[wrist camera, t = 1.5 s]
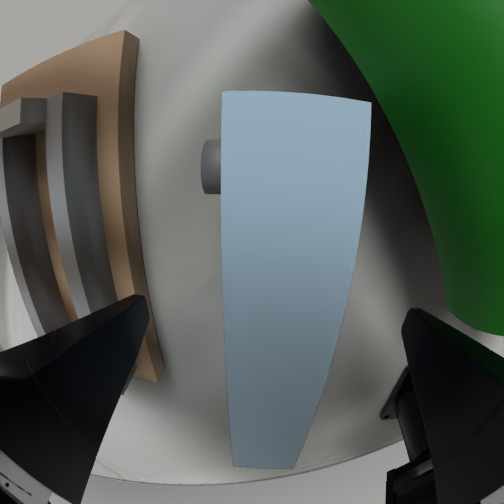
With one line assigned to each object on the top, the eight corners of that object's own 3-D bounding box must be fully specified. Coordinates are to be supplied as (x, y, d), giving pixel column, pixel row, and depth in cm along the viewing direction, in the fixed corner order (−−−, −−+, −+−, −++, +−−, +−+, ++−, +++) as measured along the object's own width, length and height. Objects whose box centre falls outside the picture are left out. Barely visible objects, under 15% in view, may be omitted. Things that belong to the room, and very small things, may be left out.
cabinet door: (289, 346, 16) (293, 468, 8) (235, 343, 16) (213, 463, 8) (309, 126, 11) (371, 102, 4) (236, 123, 11) (174, 94, 4)
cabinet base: (164, 367, 17) (138, 429, 12) (59, 341, 18) (25, 383, 13) (138, 38, 9) (73, 2, 4) (17, 85, 10) (-44, 87, 5)
